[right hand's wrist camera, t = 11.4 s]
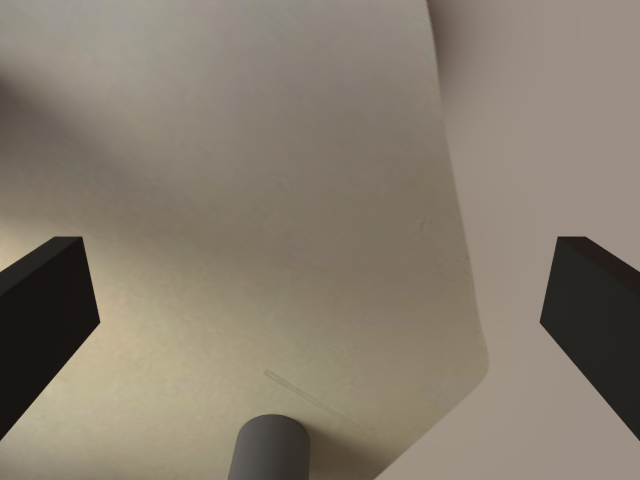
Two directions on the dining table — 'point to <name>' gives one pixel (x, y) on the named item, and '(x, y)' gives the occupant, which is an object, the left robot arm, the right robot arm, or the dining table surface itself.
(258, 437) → the jar
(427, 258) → the dining table surface
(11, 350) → the right robot arm
